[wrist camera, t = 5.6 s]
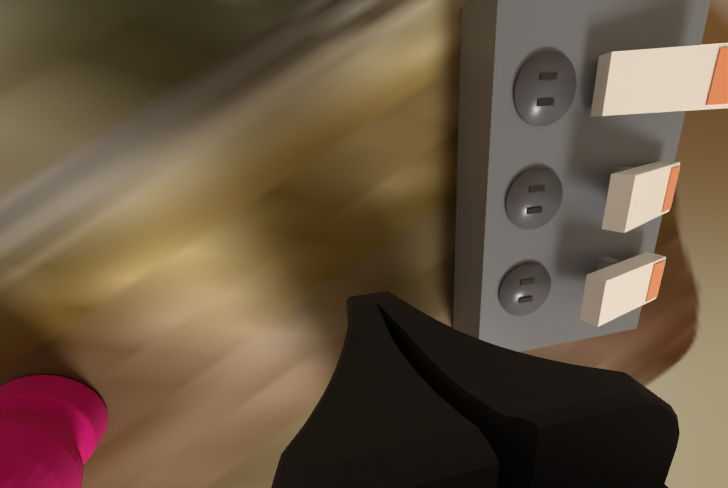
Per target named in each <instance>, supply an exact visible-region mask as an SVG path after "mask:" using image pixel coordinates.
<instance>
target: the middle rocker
mask: <svg viewBox="0 0 728 488" xmlns="http://www.w3.org/2000/svg"><path fill="white" fill-rule="evenodd" d="M679 170H680V162H660V161H658V162H654V163H650V164H646V165H643V166H639V167H635V168H632V169H628V170H624V171H620V172H617V173H613V174H611V177H610V183H609V189H608V195H607V200H606V206H605V212H604V218H603V224H602V229H604V230H610V231H615V232H621V233H626V232H628V231H630V230H632V229H634V228H636V227H638V226H640V225H642V224H644V223H646V222H648V221H650V220H652V219H654V218H656V217H658V216H660V215H662V214H665V213H667V212H669V209H671V205H672V200H673V196H674V192H675V188H676V183H677V179H678V175H679Z"/></svg>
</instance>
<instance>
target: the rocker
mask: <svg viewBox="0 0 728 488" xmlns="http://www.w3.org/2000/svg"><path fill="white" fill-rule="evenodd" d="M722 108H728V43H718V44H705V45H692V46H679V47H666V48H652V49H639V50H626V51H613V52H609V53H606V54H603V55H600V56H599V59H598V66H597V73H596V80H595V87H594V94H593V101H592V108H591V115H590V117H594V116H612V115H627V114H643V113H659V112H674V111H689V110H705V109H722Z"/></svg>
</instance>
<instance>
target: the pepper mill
mask: <svg viewBox="0 0 728 488" xmlns="http://www.w3.org/2000/svg"><path fill="white" fill-rule="evenodd" d="M107 423H108V417H107V410H106V407H105V405H104V403H103V401H102V399H101V398H100V397H99V396H98V395H97V394H96V393H95V392H94V391H93V390H92V389H90V388H88V387H87V386H85V385H84V384H82V383H80V382H78V381H75V380H72V379H69V378H65V377H62V376H54V375H35V376H26V377H22V378H18V379H15V380H13V381H10V382H8V383H6V384H4V385H2V386H1V387H0V488H81V485H82V480H83V470H84V466H83V464H84V463H85V462H86V461H87V460H88V459H89V457H90V456H91V454H92V453H93V451H94V449H95V448H96V446H97V444H98V443H99V441H100V439H101V438H102V436H103V434H104V432H105V430H106V428H107Z"/></svg>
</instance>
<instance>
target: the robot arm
mask: <svg viewBox="0 0 728 488" xmlns="http://www.w3.org/2000/svg"><path fill="white" fill-rule="evenodd" d="M346 303H347V315H348V327H347V333H346V337H345V341H344V345H343V349H342V352H341V355H340V358H339V361H338V364H337V366H336V369H335V371H334V373H333V376H332V378H331V380H330V382H329V384H328V386H327V388H326V390H325V392H324V394H323V396H322V397H321V399H320V401H319V402H318V404H317V405H316V407H315V409H314V410H313V412H312V414H311V415H310V417H309V418H308V420H307V421H306V423H305V424H304V426H303V427H302V428H301V430H300V431H299V432H298V433H297V435H296V436H295V437H294V439H293V440H292V441H291V443H290V444H289V445H288V446H287V448H286V449H285V450H284V452H283V453H282V454H281V457H280V460H279V464H278V467H277V470H276V474H275V477H274V480H273V484H272V488H668V487H667V486H666V485H665V484H664V483H665V480H666V477H667V474H668V471H669V468H670V465H671V462H672V459H673V456H674V453H675V450H676V448H677V442H678V438H679V426H678V419H677V415H676V414H675V412H674V411H673V409H672V407H671V406H670V405H669V404H668V403H666V402H665V401H663V400H662V399H661V398H659V397H658V396H657V395H655V394H654V393H653V392H651V391H650V390H648V389H647V388H646V387H644V386H643V385H642V384H640V383H639V382H637V381H636V380H635V379H633V378H632V377H631V376H629V375H628V374H627V373H625V372H618V371H612V370H605V369H599V368H592V367H585V366H579V365H572V364H567V363H562V362H558V361H553V360H549V359H544V358H539V357H535V356H532V355H528V354H524V353H520V352H517V351H513V350H510V349H507V348H503V347H500V346H497V345H494V344H491V343H488V342H485V341H483V340H480V339H477V338H475V337H472V336H470V335H467V334H465V333H462V332H460V331H458V330H456V329H454V328H451V327H449V326H447V325H445V324H443V323H441V322H439V321H437V320H435V319H434V318H432V317H430V316H428V315H426V314H424V313H423V312H421V311H419V310H418V309H416V308H414V307H412V306H411V305H409V304H408V303H406V302H404V301H403V300H401V299H399V298H398V297H396V296H394V295H393V294H391V293H389V292H387V291H385V292H379V293H372V294H366V295H359V296H353V297H349V298H348V299H347V301H346Z"/></svg>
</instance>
